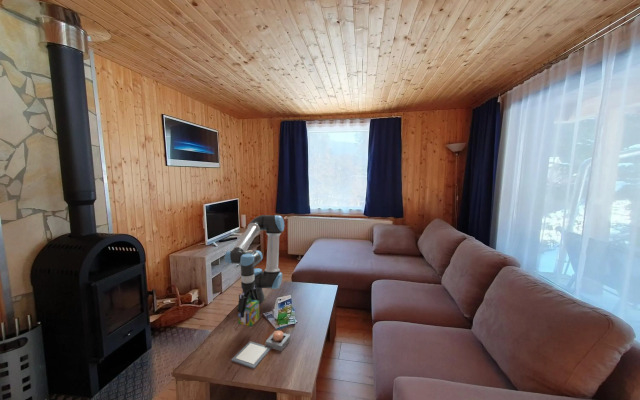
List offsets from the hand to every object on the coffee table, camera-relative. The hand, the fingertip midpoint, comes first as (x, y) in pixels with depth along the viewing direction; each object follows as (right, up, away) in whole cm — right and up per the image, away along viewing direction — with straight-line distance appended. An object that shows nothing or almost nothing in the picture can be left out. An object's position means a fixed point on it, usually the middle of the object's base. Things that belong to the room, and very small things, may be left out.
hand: (249, 317), depth 143 cm
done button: (+18, -8, -7) cm, 21 cm away
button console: (+18, -11, -7) cm, 23 cm away
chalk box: (0, -3, 0) cm, 3 cm away
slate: (+6, -12, -16) cm, 21 cm away
